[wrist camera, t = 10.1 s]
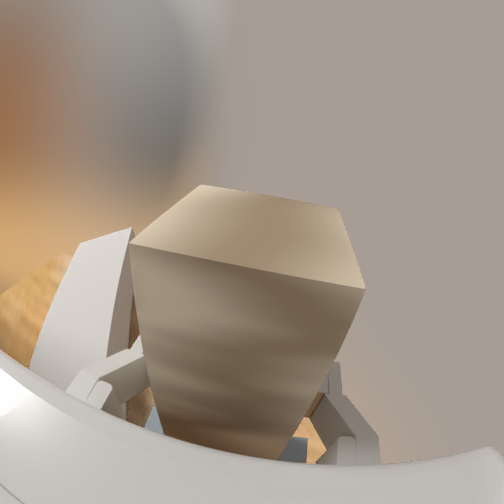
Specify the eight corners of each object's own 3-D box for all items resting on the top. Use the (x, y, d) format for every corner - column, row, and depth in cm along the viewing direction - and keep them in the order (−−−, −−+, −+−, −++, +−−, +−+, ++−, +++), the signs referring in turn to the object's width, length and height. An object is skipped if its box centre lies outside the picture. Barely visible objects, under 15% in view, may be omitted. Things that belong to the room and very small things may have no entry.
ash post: (174, 466, 11) (128, 242, 5) (196, 404, 15) (200, 184, 9) (258, 485, 11) (365, 289, 5) (269, 419, 15) (338, 209, 9)
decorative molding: (46, 453, 16) (131, 453, 17) (14, 430, 13) (100, 431, 15) (90, 266, 44) (141, 252, 46) (80, 243, 42) (131, 227, 43)
